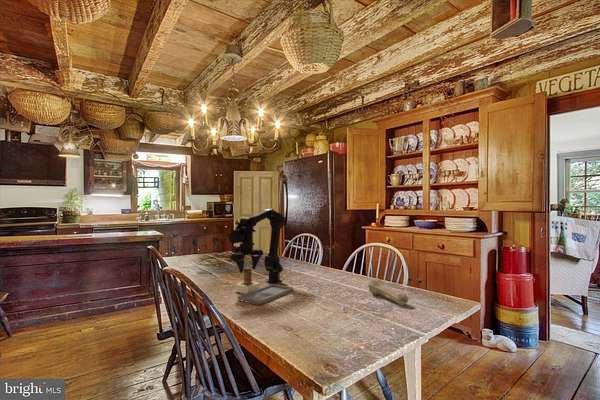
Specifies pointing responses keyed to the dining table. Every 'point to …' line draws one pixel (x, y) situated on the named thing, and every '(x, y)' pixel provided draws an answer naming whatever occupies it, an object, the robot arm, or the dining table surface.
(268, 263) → the robot arm
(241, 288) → the square frame
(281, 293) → the tray
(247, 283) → the pin
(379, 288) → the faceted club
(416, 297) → the dining table surface
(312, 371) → the dining table surface
